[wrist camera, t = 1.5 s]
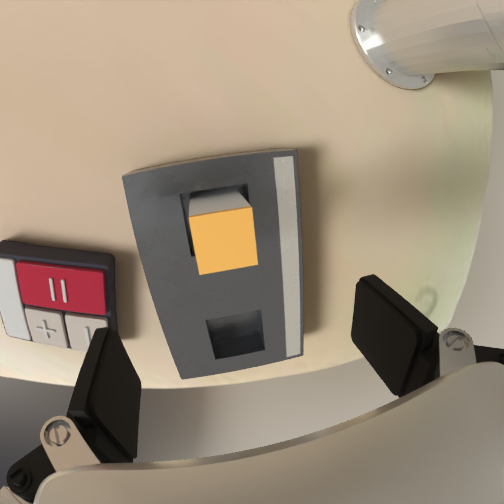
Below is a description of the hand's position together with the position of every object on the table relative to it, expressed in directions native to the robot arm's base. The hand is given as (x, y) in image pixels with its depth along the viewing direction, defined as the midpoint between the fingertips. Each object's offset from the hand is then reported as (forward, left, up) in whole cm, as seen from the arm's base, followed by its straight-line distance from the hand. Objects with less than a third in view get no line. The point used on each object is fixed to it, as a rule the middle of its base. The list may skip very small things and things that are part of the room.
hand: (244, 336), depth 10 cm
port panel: (0, +6, -18) cm, 18 cm away
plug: (0, 0, -17) cm, 17 cm away
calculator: (+19, +5, -18) cm, 27 cm away
